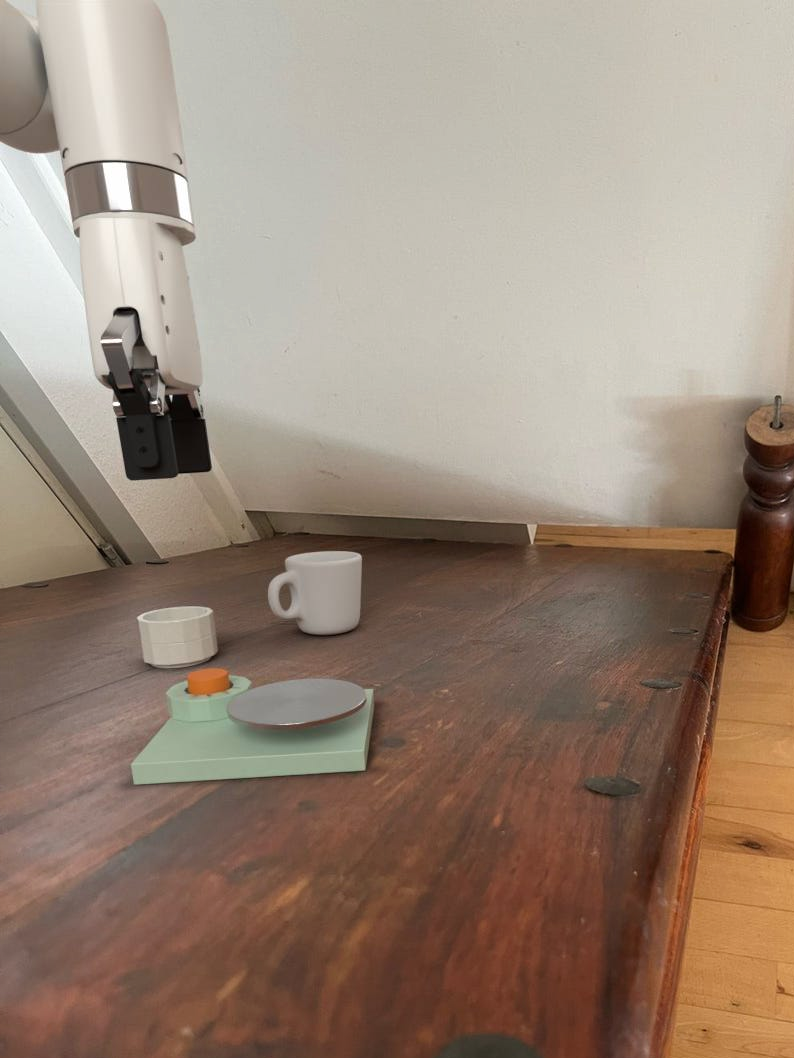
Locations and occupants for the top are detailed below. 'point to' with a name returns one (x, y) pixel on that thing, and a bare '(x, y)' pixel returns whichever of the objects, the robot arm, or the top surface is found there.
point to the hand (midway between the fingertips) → (173, 475)
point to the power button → (208, 681)
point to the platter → (296, 704)
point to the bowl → (177, 636)
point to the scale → (246, 742)
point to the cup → (320, 591)
